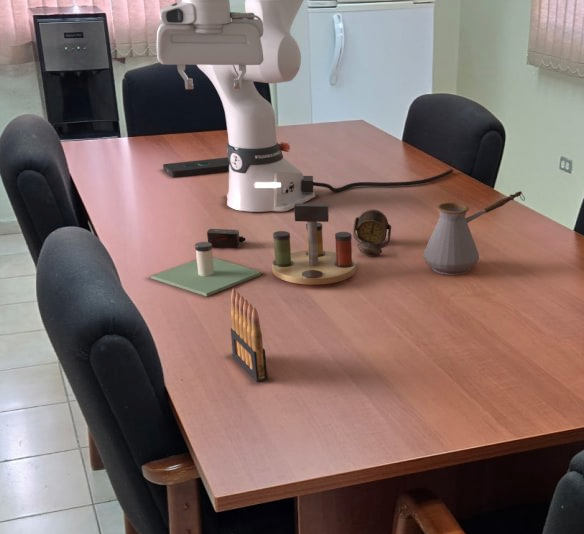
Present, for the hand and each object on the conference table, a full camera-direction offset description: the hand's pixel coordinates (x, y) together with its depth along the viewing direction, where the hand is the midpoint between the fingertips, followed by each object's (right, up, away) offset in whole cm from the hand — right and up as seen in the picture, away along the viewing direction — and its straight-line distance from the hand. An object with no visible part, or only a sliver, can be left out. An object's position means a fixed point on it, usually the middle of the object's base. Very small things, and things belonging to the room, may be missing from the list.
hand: (214, 88), depth 188 cm
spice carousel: (+20, -37, +2) cm, 42 cm away
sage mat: (-1, -38, -2) cm, 38 cm away
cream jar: (-1, -37, -2) cm, 37 cm away
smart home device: (-19, +4, +64) cm, 67 cm away
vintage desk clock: (+29, -28, +17) cm, 44 cm away
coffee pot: (+52, -34, +9) cm, 62 cm away
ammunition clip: (+15, -60, -35) cm, 71 cm away
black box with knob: (-1, -28, +14) cm, 31 cm away
